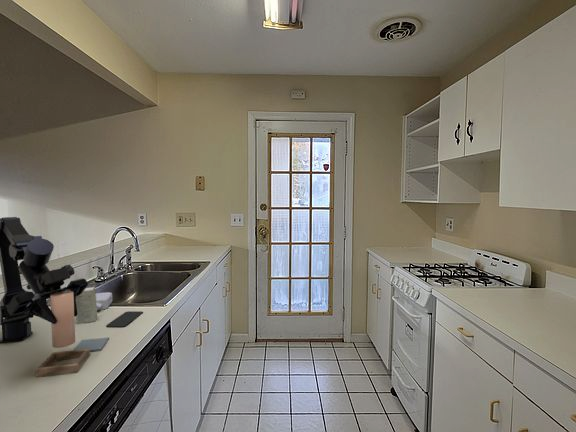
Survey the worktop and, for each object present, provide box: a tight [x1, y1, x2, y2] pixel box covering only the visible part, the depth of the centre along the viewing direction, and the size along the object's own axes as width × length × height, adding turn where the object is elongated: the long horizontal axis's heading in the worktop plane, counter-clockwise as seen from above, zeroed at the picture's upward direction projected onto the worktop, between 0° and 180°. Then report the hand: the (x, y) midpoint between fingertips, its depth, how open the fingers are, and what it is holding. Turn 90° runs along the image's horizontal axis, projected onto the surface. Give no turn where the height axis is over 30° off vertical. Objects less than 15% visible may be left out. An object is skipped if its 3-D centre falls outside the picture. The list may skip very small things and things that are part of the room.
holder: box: [35, 349, 91, 378], centre depth 88 cm, size 10×10×2 cm
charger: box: [96, 292, 113, 311], centre depth 132 cm, size 5×9×15 cm
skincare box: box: [75, 286, 98, 325], centre depth 119 cm, size 6×4×12 cm
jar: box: [49, 291, 76, 349], centre depth 87 cm, size 5×5×14 cm
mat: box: [72, 337, 110, 353], centre depth 100 cm, size 8×8×1 cm
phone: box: [105, 310, 144, 329], centre depth 121 cm, size 7×1×15 cm
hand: (66, 319), depth 87 cm, fingers closed on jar, 5 cm apart
